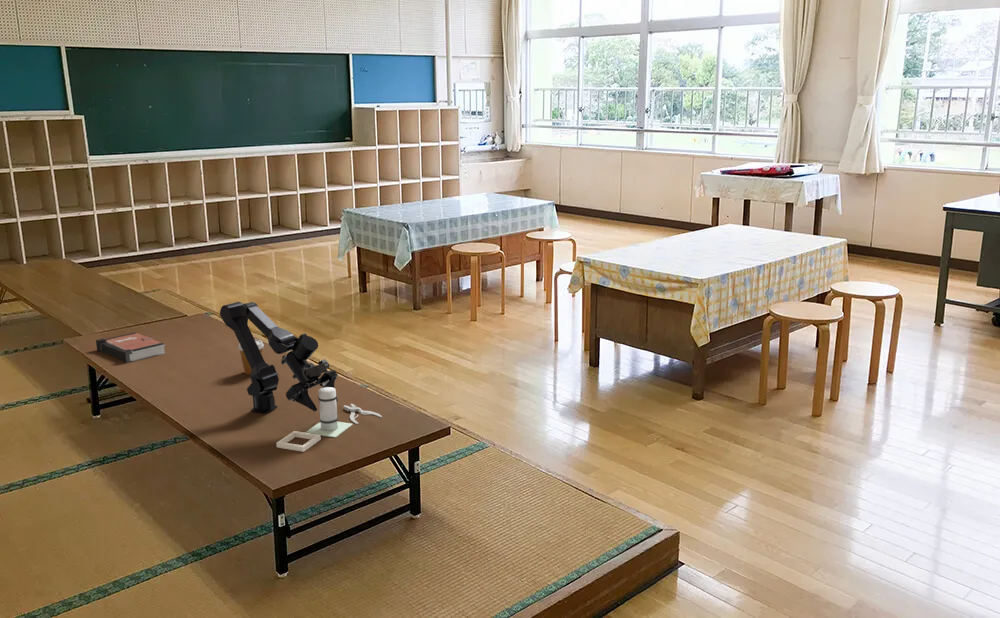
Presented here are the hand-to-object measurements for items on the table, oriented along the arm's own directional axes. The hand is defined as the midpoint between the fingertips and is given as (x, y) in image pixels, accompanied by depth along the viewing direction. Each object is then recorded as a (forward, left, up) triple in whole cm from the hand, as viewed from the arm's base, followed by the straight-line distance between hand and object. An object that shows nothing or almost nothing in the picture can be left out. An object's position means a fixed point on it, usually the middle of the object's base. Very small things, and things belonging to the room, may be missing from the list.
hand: (326, 406), depth 260 cm
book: (-120, +43, -8) cm, 128 cm away
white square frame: (-2, -13, -8) cm, 15 cm away
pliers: (+3, +14, -8) cm, 17 cm away
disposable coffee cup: (-56, +38, -8) cm, 68 cm away
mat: (+1, 0, -8) cm, 8 cm away
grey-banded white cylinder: (+1, 0, -7) cm, 7 cm away
